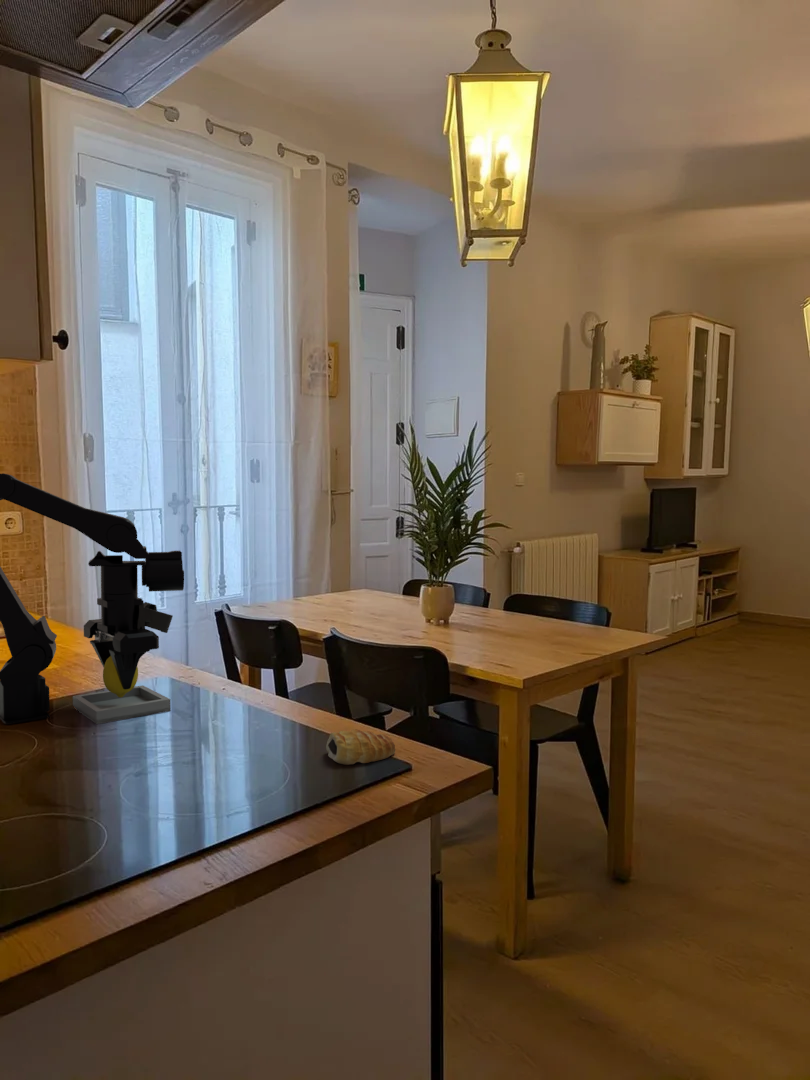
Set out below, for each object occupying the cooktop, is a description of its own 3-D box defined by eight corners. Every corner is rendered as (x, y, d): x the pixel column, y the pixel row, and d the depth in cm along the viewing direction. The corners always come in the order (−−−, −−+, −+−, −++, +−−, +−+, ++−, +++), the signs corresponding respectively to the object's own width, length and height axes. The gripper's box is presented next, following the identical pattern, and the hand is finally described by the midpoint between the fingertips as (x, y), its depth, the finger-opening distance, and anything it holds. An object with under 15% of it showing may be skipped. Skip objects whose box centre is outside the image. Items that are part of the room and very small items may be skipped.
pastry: (384, 745, 113) (384, 719, 113) (403, 760, 107) (403, 733, 106) (322, 754, 109) (322, 727, 109) (338, 770, 103) (338, 741, 103)
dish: (96, 724, 122) (96, 711, 121) (72, 707, 131) (72, 696, 131) (170, 711, 129) (170, 699, 129) (143, 696, 138) (142, 685, 138)
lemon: (126, 702, 127) (126, 654, 126) (96, 700, 128) (95, 652, 127) (144, 694, 132) (144, 647, 132) (115, 692, 133) (114, 646, 133)
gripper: (189, 594, 127) (189, 689, 128) (145, 584, 141) (146, 669, 142) (121, 600, 120) (122, 700, 121) (82, 588, 134) (83, 677, 135)
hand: (120, 685), depth 130 cm, fingers closed on lemon, 5 cm apart
